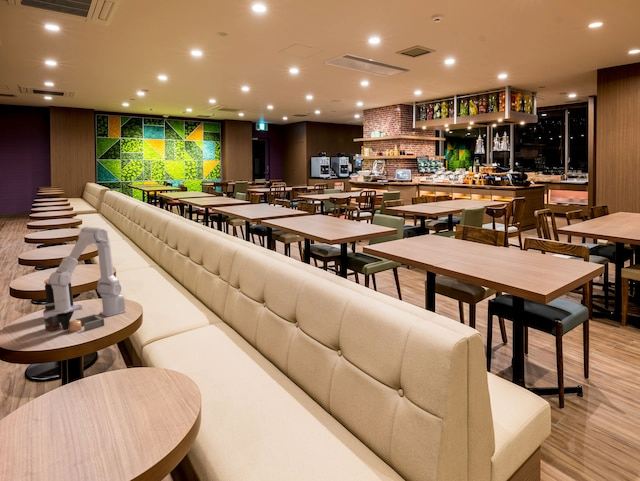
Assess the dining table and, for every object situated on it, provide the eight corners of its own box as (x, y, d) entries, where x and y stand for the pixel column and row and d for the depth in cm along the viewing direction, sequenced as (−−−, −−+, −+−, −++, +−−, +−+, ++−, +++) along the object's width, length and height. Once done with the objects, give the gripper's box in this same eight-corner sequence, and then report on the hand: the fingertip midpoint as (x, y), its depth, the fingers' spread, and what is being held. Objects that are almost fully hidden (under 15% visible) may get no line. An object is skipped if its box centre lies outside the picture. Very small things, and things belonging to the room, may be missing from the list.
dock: (95, 320, 196) (94, 314, 196) (104, 325, 190) (103, 319, 190) (77, 325, 190) (76, 319, 189) (85, 330, 184) (85, 324, 184)
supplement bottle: (64, 326, 189) (61, 302, 187) (54, 331, 183) (52, 306, 181) (52, 325, 190) (49, 301, 188) (42, 330, 184) (39, 306, 182)
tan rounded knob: (78, 326, 189) (78, 319, 188) (83, 329, 185) (82, 322, 185) (66, 330, 185) (65, 322, 184) (71, 332, 182) (70, 325, 181)
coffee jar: (79, 312, 207) (75, 277, 203) (62, 320, 196) (58, 283, 193) (60, 311, 208) (56, 276, 205) (42, 318, 198) (38, 282, 195)
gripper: (46, 305, 172) (50, 336, 174) (84, 297, 183) (87, 326, 185) (40, 302, 176) (44, 332, 178) (77, 293, 187) (80, 322, 189)
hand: (65, 329), depth 182 cm, fingers closed
